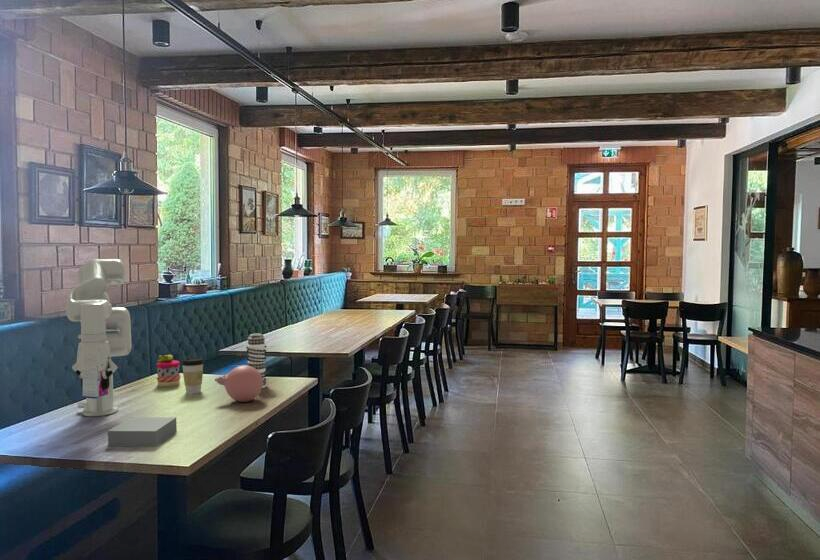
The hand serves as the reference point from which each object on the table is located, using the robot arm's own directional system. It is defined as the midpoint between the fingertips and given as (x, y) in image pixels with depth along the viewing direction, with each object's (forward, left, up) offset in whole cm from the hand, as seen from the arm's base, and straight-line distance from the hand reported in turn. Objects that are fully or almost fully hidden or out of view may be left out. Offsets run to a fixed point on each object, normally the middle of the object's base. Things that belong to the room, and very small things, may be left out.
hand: (95, 388), depth 206 cm
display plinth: (+18, -4, -16) cm, 25 cm away
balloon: (+35, +46, -17) cm, 61 cm away
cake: (-9, +77, -17) cm, 80 cm away
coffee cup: (+9, +62, -17) cm, 65 cm away
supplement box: (0, 0, -3) cm, 3 cm away
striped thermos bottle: (+35, +73, -17) cm, 83 cm away
